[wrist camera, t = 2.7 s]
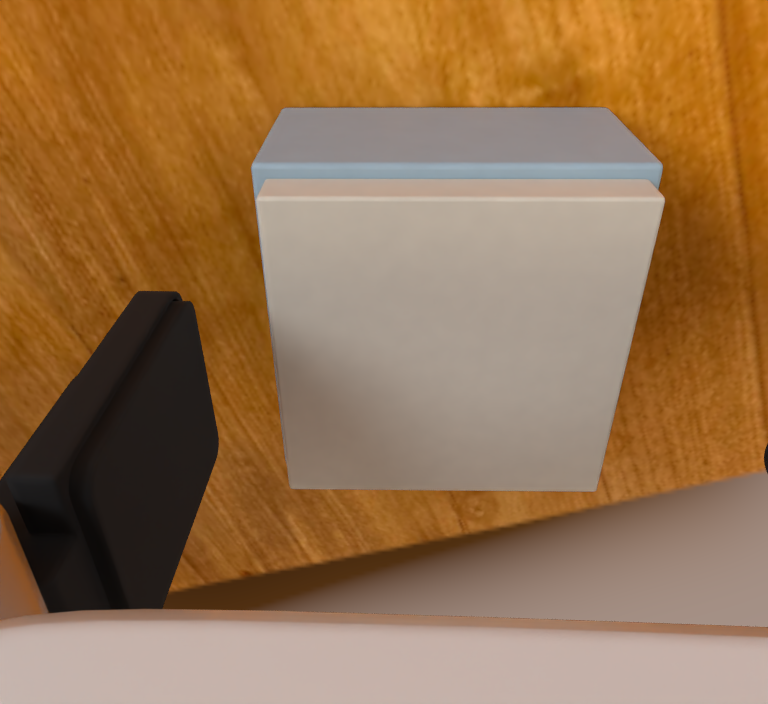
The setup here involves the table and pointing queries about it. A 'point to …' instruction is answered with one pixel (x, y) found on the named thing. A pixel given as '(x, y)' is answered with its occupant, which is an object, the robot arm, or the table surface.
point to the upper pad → (452, 292)
